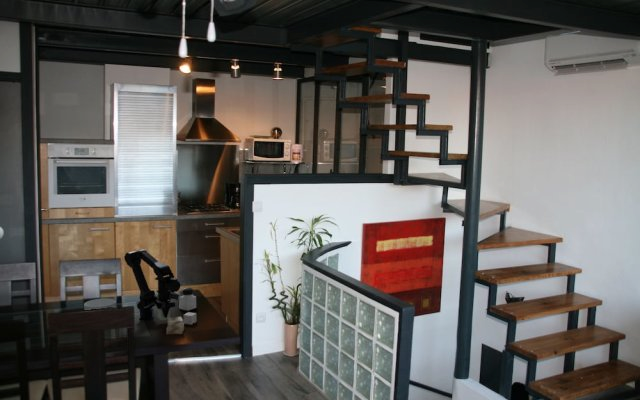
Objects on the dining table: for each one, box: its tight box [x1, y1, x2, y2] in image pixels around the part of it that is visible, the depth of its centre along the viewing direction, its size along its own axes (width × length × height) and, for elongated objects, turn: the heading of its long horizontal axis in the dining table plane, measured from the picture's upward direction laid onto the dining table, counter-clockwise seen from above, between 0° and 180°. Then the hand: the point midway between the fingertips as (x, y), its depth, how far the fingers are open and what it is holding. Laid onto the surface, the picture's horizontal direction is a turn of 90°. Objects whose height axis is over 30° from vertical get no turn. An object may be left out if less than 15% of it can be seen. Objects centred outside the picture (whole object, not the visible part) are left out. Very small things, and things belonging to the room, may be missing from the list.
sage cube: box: [157, 308, 171, 321], centre depth 320 cm, size 5×5×5 cm
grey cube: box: [182, 311, 197, 325], centre depth 322 cm, size 5×5×5 cm
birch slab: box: [167, 316, 184, 329], centre depth 308 cm, size 7×7×4 cm
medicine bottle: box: [178, 287, 197, 312], centre depth 346 cm, size 7×7×12 cm
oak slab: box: [166, 322, 185, 335], centre depth 308 cm, size 8×8×4 cm
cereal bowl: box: [83, 298, 117, 311], centre depth 333 cm, size 17×17×7 cm
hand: (163, 316), depth 320 cm, fingers closed on sage cube, 5 cm apart
